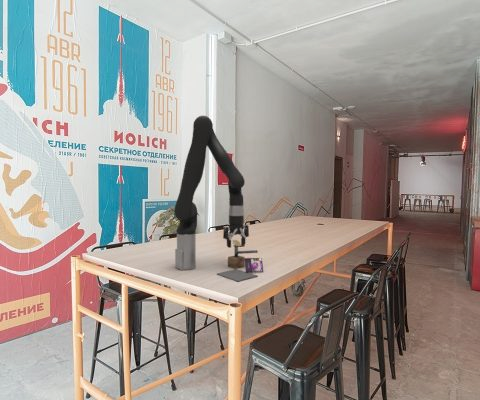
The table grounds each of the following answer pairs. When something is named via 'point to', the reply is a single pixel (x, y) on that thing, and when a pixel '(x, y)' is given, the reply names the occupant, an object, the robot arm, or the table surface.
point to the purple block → (252, 265)
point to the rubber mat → (237, 275)
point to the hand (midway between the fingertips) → (236, 246)
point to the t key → (241, 251)
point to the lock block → (236, 262)
